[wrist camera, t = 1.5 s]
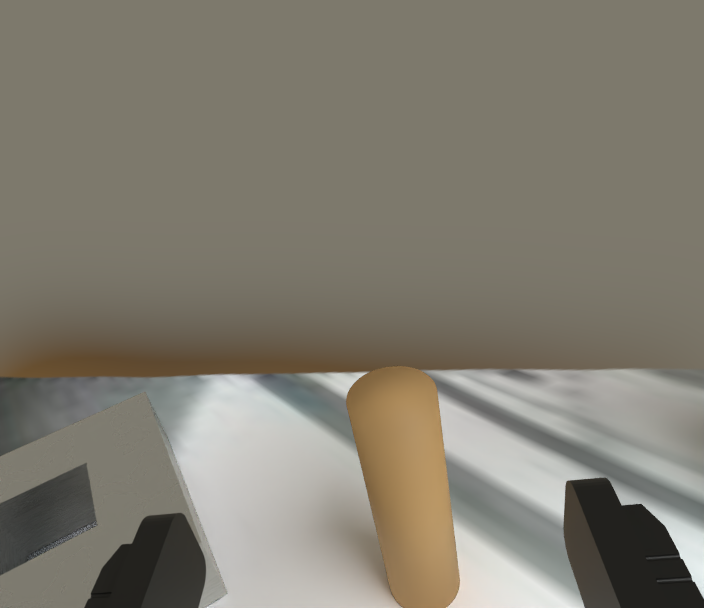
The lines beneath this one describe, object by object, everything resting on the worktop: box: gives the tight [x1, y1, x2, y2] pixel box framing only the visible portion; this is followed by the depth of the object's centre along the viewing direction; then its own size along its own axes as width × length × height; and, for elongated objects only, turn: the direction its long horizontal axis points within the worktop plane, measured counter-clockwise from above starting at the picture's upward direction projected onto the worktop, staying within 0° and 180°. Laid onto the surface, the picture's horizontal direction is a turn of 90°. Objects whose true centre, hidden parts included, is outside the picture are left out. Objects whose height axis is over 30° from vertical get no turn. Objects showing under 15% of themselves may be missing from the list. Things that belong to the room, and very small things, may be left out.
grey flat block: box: [0, 392, 228, 608], centre depth 35 cm, size 16×16×5 cm
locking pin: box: [346, 366, 460, 608], centre depth 28 cm, size 4×4×14 cm
